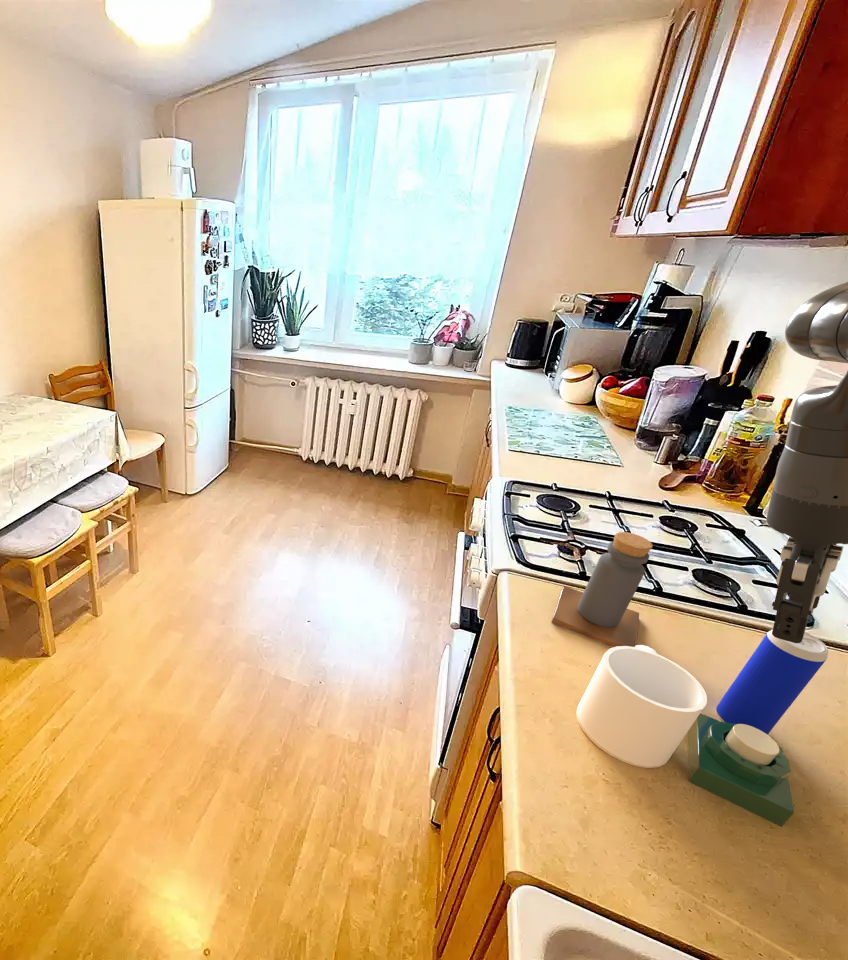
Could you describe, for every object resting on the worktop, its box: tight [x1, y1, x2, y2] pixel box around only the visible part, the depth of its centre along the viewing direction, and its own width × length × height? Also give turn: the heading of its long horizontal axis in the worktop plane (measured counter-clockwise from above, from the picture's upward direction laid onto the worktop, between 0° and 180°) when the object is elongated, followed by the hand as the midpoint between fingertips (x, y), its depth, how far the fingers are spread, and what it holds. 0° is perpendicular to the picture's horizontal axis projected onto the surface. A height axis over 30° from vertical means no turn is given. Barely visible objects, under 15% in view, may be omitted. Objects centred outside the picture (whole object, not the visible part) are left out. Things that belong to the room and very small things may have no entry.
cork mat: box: [551, 585, 640, 648], centre depth 86 cm, size 11×11×1 cm
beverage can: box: [715, 628, 829, 736], centre depth 66 cm, size 5×5×15 cm
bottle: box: [578, 531, 654, 627], centre depth 83 cm, size 6×6×15 cm
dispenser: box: [687, 712, 795, 827], centre depth 62 cm, size 10×8×4 cm
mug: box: [575, 644, 708, 769], centre depth 66 cm, size 13×10×10 cm
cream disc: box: [725, 724, 780, 766], centre depth 61 cm, size 4×4×2 cm
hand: (794, 621), depth 59 cm, fingers open, 8 cm apart
